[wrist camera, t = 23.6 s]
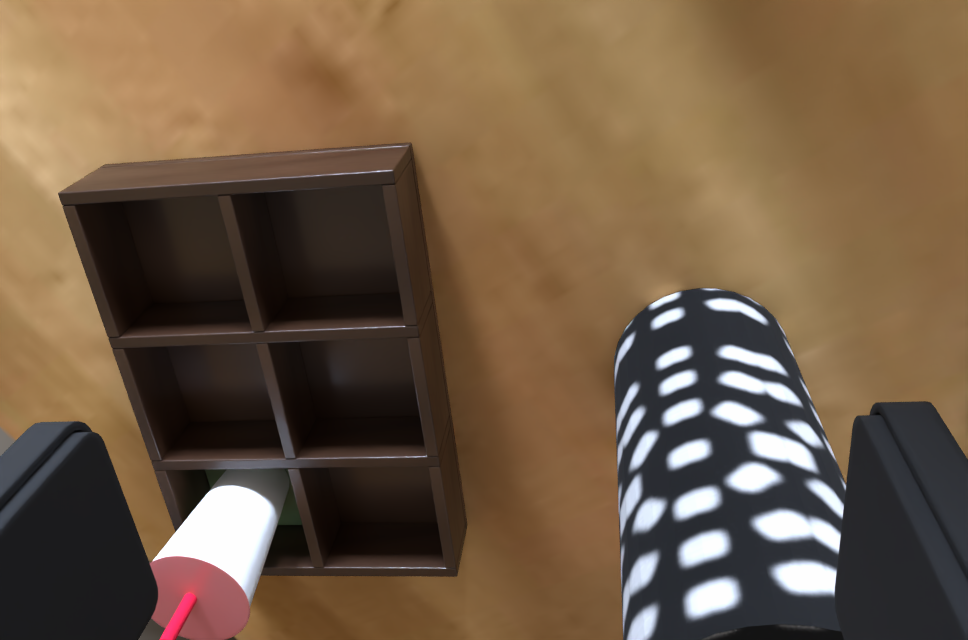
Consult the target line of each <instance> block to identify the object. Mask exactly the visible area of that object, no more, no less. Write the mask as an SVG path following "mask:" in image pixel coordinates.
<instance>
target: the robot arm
mask: <svg viewBox="0 0 968 640" xmlns="http://www.w3.org/2000/svg"><path fill="white" fill-rule="evenodd" d="M157 601H158V586H157V582H156V579H155V577H154V574H153V571H152V569H151V566H150V563H149V561H148V558H147V555H146V553H145V550H144V547H143V545H142V542H141V539H140V537H139V534H138V531H137V529H136V526H135V523H134V521H133V518H132V515H131V513H130V510H129V507H128V505H127V502H126V499H125V497H124V494H123V491H122V489H121V486H120V483H119V481H118V478H117V475H116V473H115V470H114V467H113V465H112V462H111V459H110V457H109V454H108V451H107V449H106V446H105V443H104V441H103V439H102V437H101V436H100V435H99V434H98V433H94V432H92V431H91V429H90V427H88V426H87V425H86V424H85V423H82V422H79V421H74V422H41V423H36V424H34V425H32V426H31V427H30V428H28V429H27V430H26V431H25V432H24V433H23V434H22V435H21V436H20V437H19V438H18V439H17V440H16V441H15V442H14V443H13V444H12V445H11V446H10V447H9V448H8V449H7V450H6V451H5V452H4V453H3V454H2V455H1V456H0V640H138V639H139V637H140V636H141V634H142V632H143V630H144V629H145V627H146V625H147V624H148V622H149V620H150V619H151V617H152V615H153V613H154V611H155V609H156V605H157ZM835 608H836V614H837V619H838V622H839V626H840V629H841V632H842V635H843V638H844V640H968V460H967V458H966V456H965V455H964V453H963V452H962V450H961V448H960V447H959V445H958V444H957V442H956V440H955V439H954V437H953V436H952V434H951V432H950V431H949V429H948V428H947V426H946V425H945V423H944V421H943V420H942V418H941V417H940V415H939V413H938V412H937V410H936V409H935V407H934V406H933V405H932V404H931V403H930V402H926V401H923V402H881V403H875V404H874V405H873V406H872V409H871V411H870V415H867V416H857V417H856V418H855V420H854V423H853V429H852V438H851V447H850V456H849V465H848V474H847V483H846V492H845V501H844V510H843V519H842V528H841V536H840V545H839V554H838V563H837V572H836V581H835Z"/></svg>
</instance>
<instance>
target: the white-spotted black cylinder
mask: <svg viewBox="0 0 968 640" xmlns="http://www.w3.org/2000/svg"><path fill="white" fill-rule="evenodd" d="M614 385H615V414H616V443H617V471H618V500H619V529H620V557H621V586H622V614H623V640H844V638H843V635H842V632H841V629H840V626H839V622H838V619H837V614H836V608H835V581H836V572H837V563H838V554H839V545H840V536H841V528H842V519H843V510H844V501H845V492H846V484H845V481H844V479H843V476H842V474H841V472H840V469H839V467H838V464H837V462H836V459H835V457H834V454H833V452H832V449H831V447H830V444H829V442H828V439H827V437H826V434H825V432H824V429H823V427H822V424H821V422H820V420H819V417H818V415H817V412H816V410H815V407H814V405H813V402H812V400H811V397H810V395H809V392H808V390H807V387H806V385H805V382H804V380H803V377H802V375H801V373H800V370H799V368H798V365H797V363H796V360H795V358H794V355H793V353H792V350H791V348H790V345H789V343H788V340H787V338H786V335H785V333H784V331H783V329H782V328H781V326H780V325H779V323H778V321H777V320H776V318H775V317H774V316H773V315H772V314H770V313H769V312H768V311H767V310H766V309H765V308H764V307H763V306H761V305H760V304H758V303H757V302H755V301H754V300H752V299H750V298H748V297H745V296H743V295H740V294H738V293H735V292H731V291H726V290H721V289H700V288H698V289H692V290H686V291H680V292H677V293H674V294H671V295H668V296H666V297H663V298H661V299H659V300H658V301H656V302H654V303H652V304H650V305H649V306H647V307H646V308H645V309H644V310H643V311H641V312H640V313H639V314H638V315H636V316H635V318H634V319H633V320H632V321H631V322H630V324H629V325H628V326H627V327H626V329H625V330H624V332H623V334H622V336H621V338H620V340H619V342H618V345H617V349H616V353H615V356H614Z"/></svg>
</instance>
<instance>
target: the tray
mask: <svg viewBox="0 0 968 640" xmlns="http://www.w3.org/2000/svg"><path fill="white" fill-rule="evenodd" d="M58 195H59V198H60V201H61V204H62V205H64V206H63V209H64V212H65V215H66V218H67V221H68V224H69V227H70V230H71V232H72V235H73V238H74V241H75V244H76V247H77V250H78V253H79V255H80V258H81V261H82V264H83V267H84V270H85V273H86V276H87V278H88V281H89V284H90V287H91V290H92V293H93V296H94V299H95V301H96V304H97V307H98V310H99V313H100V316H101V319H102V322H103V324H104V327H105V330H106V333H107V336H108V337H109V341H110V344H111V347H112V348H113V349H112V350H113V353H114V356H115V359H116V362H117V365H118V367H119V370H120V373H121V376H122V379H123V382H124V385H125V388H126V390H127V393H128V396H129V399H130V402H131V405H132V408H133V411H134V413H135V416H136V419H137V422H138V425H139V428H140V431H141V434H142V436H143V439H144V442H145V445H146V448H147V451H148V454H149V457H150V459H151V461H152V465H153V468H154V470H155V474H156V477H157V480H158V483H159V486H160V489H161V491H162V494H163V497H164V500H165V503H166V506H167V509H168V512H169V514H170V517H171V520H172V523H173V526H174V529H175V532H176V531H177V530H178V529H179V528H180V526H181V525H182V524H183V523H184V521H185V520H186V519H187V518H188V516H189V515H190V514H191V513H192V511H193V510H194V509H195V508H196V506H197V505H198V504H199V503H200V502H201V500H202V499H203V498H204V497H205V495H206V494H207V493H208V492H209V490H210V489H211V488H212V487H213V485H214V484H215V483H216V482H217V481H218V479H219V478H220V477H221V476H222V475H223V474H224V472H225V471H226V470H227V469H276V468H284V469H285V471H286V473H287V475H288V477H289V490H288V493H287V496H286V499H285V502H284V505H283V509H282V512H281V515H280V518H279V521H278V524H277V527H276V530H275V533H274V536H273V539H272V542H271V545H270V548H269V551H268V554H267V557H266V561H265V564H264V567H263V570H262V573H261V575H269V576H448V577H456V576H457V575H458V570H459V565H460V560H461V555H462V550H463V545H464V540H465V534H466V529H467V519H466V512H465V505H464V498H463V492H462V485H461V478H460V471H459V464H458V457H457V450H456V443H455V437H454V430H453V423H452V416H451V409H450V402H449V395H448V389H447V382H446V375H445V368H444V361H443V354H442V347H441V340H440V334H439V327H438V320H437V313H436V306H435V299H434V292H433V286H432V279H431V272H430V265H429V258H428V251H427V244H426V238H425V231H424V224H423V217H422V210H421V203H420V196H419V189H418V183H417V176H416V169H415V162H414V155H413V148H412V143H397V144H384V145H370V146H356V147H342V148H328V149H314V150H300V151H286V152H273V153H259V154H245V155H231V156H217V157H203V158H189V159H176V160H162V161H148V162H134V163H120V164H106V165H103V166H102V167H100V168H98V169H97V170H95V171H94V172H92V173H90V174H89V175H87V176H85V177H84V178H82V179H80V180H79V181H77V182H75V183H74V184H72V185H70V186H69V187H67V188H66V189H64V190H62V191H61V192H59V193H58Z"/></svg>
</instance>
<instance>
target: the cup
mask: <svg viewBox="0 0 968 640" xmlns="http://www.w3.org/2000/svg"><path fill="white" fill-rule="evenodd" d="M288 490H289V477H288V475H287V473H286V471H285V469H284V468H276V469H227V470H226V471H225V472H224V474H223V475H222V476H221V477H220V478H219V479H218V481H217V482H216V483H215V484H214V485H213V487H212V488H211V489H210V490H209V492H208V493H207V494H206V495H205V497H204V498H203V499H202V500H201V502H200V503H199V504H198V505H197V506H196V508H195V509H194V510H193V511H192V513H191V514H190V515H189V516H188V518H187V519H186V520H185V521H184V523H183V524H182V525H181V526H180V528H179V529H178V530H177V531H176V533H175V534H174V535H173V536H172V537H171V539H170V540H169V541H168V543H167V544H166V545H165V546H164V548H163V549H162V550H161V551H160V553H159V554H158V555H157V556H156V557H155V559H154V560H153V561H152V562H151V563H150V566H151V569H152V571H153V574H154V577H155V579H156V582H157V586H158V601H157V605H156V609H155V611H154V613H153V615H152V617H151V618H152V619H153V620H154V621H155V622H156V623H158V624H159V625H160V626H162V627H163V628H165V631H164V633H163V635H162V636H161V638H160V640H176V638H177V637H178V635H179V636H181V637H184V638H187V639H191V640H225V639H228V638H231V637H233V636H235V635H236V634H238V633H239V632H240V631H242V630H243V628H244V627H245V626H246V624H247V622H248V620H249V616H250V605H251V602H252V599H253V596H254V593H255V590H256V587H257V584H258V581H259V578H260V576H261V573H262V570H263V567H264V564H265V561H266V557H267V554H268V551H269V548H270V545H271V542H272V539H273V536H274V533H275V530H276V527H277V524H278V521H279V518H280V515H281V512H282V509H283V505H284V502H285V499H286V496H287V493H288Z"/></svg>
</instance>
